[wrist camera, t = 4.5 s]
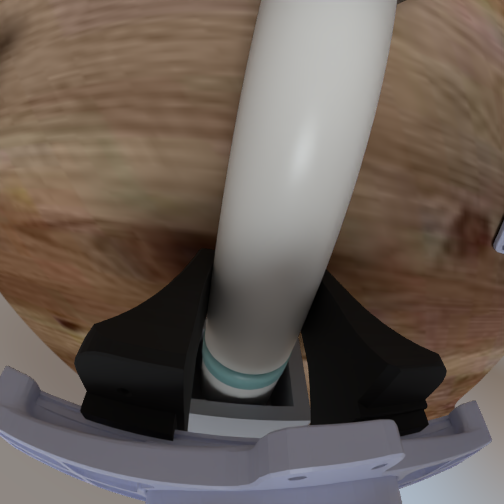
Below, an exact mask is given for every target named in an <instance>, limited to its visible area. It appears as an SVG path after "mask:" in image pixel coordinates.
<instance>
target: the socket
mask: <svg viewBox="0 0 504 504" xmlns="http://www.w3.org/2000/svg"><path fill="white" fill-rule="evenodd" d="M206 320H207V319H205V323H204V327H203V331H202V335H201V339H200V343H199V347H198V351H197V356H196V363H195V371H194V378H193V387H192V395H191V404H190V413H189V422H188V432H194V433H202V434H210V435H220V436H231V437H246V438H262V437H264V436H265V435H267V434H268V433H270V432H272V431H276V430H279V429H283V428H286V427H296V426H305V425H308V424H309V423H310V422H311V411H310V405H309V399H308V392H307V386H306V380H305V374H304V368H303V362H302V356H301V350H300V345H299V339H298V338H297V340H296V342H295V345H294V347H293V349H292V353H291V356H290V358H289V361H288V363H287V365H286V367H285V369H284V371H283V373H282V375H281V376H280V377H279V379H278V381H277V383H276V385H275V388H274V390H273V392H272V394H271V396H270V398H269V400H268V401H267V403H266V404H265V405H264V406H261V405H246V404H234V403H224V402H215V401H207V400H206V399H205V397H204V396H203V394H202V391H201V387H200V379H201V368H202V358H203V357H202V347H203V338H204V331H205V328H206Z"/></svg>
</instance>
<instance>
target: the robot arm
mask: <svg viewBox="0 0 504 504" xmlns="http://www.w3.org/2000/svg"><path fill="white" fill-rule="evenodd" d="M493 247H494V249H495V250H496V251H497V252H499V253H502V254H504V221H503V224H502V226H501V228H500V230H499V233H498V235H497V237H496V239H495V241H494V245H493ZM214 256H215V250H211V249H205V248H202V249H200V250H199V251H198V253H197V254H196V256H195V257H194V258H193V259H192V261H191V262H190V263H189V264H188V265H187V266H186V267H185V268H184V270H183V271H182V272H181V273H180V274H179V275H178V276H177V277H176V278H174V279H173V280H172V281H171V282H170V283H169V284H168V285H167V286H166V287H164V288H163V289H162V290H161V291H159V292H158V293H157V294H155V295H154V296H152V297H151V298H149V299H148V300H146V301H145V302H143V303H142V304H140V305H138V306H137V307H135V308H133V309H131V310H129V311H127V312H125V313H122V314H120V315H118V316H116V317H113V318H110V319H108V320H105V321H102V322H99V323H96V324H94V325H93V327H92V328H91V330H90V331H89V332H88V334H87V335H86V337H85V339H84V341H83V343H82V345H81V347H80V349H79V351H78V353H77V355H76V357H75V363H74V364H75V367H76V370H77V373H78V375H79V377H80V379H81V381H82V383H83V385H84V387H85V388H86V391H87V392H86V395H85V398H84V400H83V403H82V406H80V405H77V404H74V403H71V402H69V401H66V400H64V399H61V398H58V397H56V396H53V395H51V394H48V393H46V392H44V391H41V390H40V388H39V386H38V384H37V383H36V382H35V381H34V379H32V378H31V377H30V376H28V375H26V374H24V373H22V372H20V371H18V370H16V369H14V368H11V367H10V366H6V367H5V368H4V371H3V372H2V374H1V376H0V436H1V437H2V438H3V439H5V440H6V441H7V442H8V443H10V444H11V445H12V446H13V447H15V448H16V449H18V450H20V451H22V452H23V453H25V454H27V455H29V456H31V457H32V458H34V459H36V460H38V461H40V462H42V463H44V464H46V465H48V466H50V467H52V468H54V469H56V470H59V471H61V472H63V473H65V474H67V475H70V476H72V477H74V478H77V479H79V480H81V481H84V482H87V483H89V484H92V485H95V486H97V487H100V488H102V489H106V490H108V491H112V492H115V493H118V494H121V495H124V496H127V497H131V498H135V499H138V500H142V501H146V502H145V504H402V501H401V496H400V491H399V489H400V488H403V487H406V486H409V485H411V484H414V483H417V482H419V481H421V480H424V479H427V478H429V477H431V476H434V475H436V474H438V473H441V472H443V471H445V470H447V469H450V468H452V467H454V466H456V465H458V464H459V463H461V462H462V461H464V460H466V459H467V458H469V457H470V456H472V455H473V454H475V453H476V452H478V451H479V450H481V449H482V448H484V447H485V446H487V445H488V444H489V443H491V442H492V438H491V436H490V434H489V431H488V428H487V426H486V423H485V421H484V419H483V416H482V414H481V411H480V409H479V407H478V405H477V402H476V401H471V402H467V403H464V404H462V405H459V406H458V407H456V408H455V409H454V410H453V411H451V412H450V413H449V415H447V416H444V417H440V418H436V419H433V420H429V421H428V420H427V417H426V414H425V412H424V409H426V408H427V403H426V400H425V399H426V398H427V397H428V396H429V395H430V394H431V393H432V392H433V391H434V390H435V389H436V388H437V387H438V386H439V385H440V384H441V383H442V382H443V380H444V378H445V376H446V372H447V370H446V368H445V366H444V364H443V362H442V360H441V358H440V356H439V354H437V353H435V352H433V351H430V350H428V349H426V348H424V347H422V346H419V345H417V344H416V343H414V342H412V341H410V340H408V339H406V338H405V337H403V336H401V335H400V334H398V333H397V332H395V331H394V330H392V329H391V328H389V327H388V326H386V325H385V324H384V323H382V322H381V321H380V320H378V319H377V318H376V317H375V316H373V315H372V314H371V313H370V312H369V311H367V310H366V309H365V308H364V307H363V306H362V305H361V304H360V303H359V302H358V301H357V300H356V299H355V298H354V297H353V296H352V295H351V294H350V293H349V292H348V291H347V290H346V289H345V288H344V287H343V286H342V285H341V284H340V283H339V282H338V281H337V280H336V279H335V278H334V277H333V276H332V275H331V274H330V273H329V272H328V271H327V270H325V273H324V275H323V278H322V280H321V283H320V285H319V288H318V290H317V293H316V295H315V298H314V300H313V303H312V305H311V308H310V310H309V312H308V315H307V317H306V319H305V322H304V324H303V327H302V329H301V334H302V338H303V343H304V348H305V352H306V357H307V363H308V370H309V383H310V408H311V423H310V425H305V426H296V427H286V428H283V429H279V430H276V431H272V432H270V433H268V434H267V435H265V436H264V437H262V438H246V437H231V436H220V435H210V434H202V433H194V432H188V422H189V413H190V404H191V395H192V387H193V378H194V371H195V363H196V356H197V351H198V347H199V343H200V339H201V335H202V331H203V327H204V323H205V319H206V315H207V311H208V303H209V295H210V287H211V279H212V271H213V263H214Z"/></svg>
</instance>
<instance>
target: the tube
mask: <svg viewBox="0 0 504 504" xmlns="http://www.w3.org/2000/svg"><path fill="white" fill-rule="evenodd" d="M396 5H397V0H261V3H260V7H259V12H258V16H257V20H256V25H255V29H254V34H253V38H252V43H251V47H250V52H249V57H248V61H247V66H246V71H245V76H244V81H243V86H242V91H241V96H240V102H239V107H238V112H237V117H236V123H235V128H234V134H233V140H232V145H231V151H230V157H229V163H228V169H227V175H226V181H225V188H224V194H223V200H222V207H221V214H220V220H219V227H218V234H217V241H216V248H215V256H214V263H213V271H212V279H211V287H210V295H209V303H208V311H207V320H206V328H205V331H204V338H203V347H202V357H203V358H202V368H201V379H200V387H201V391H202V394H203V396H204V397H205V399H206V400H207V401H215V402H224V403H234V404H246V405H261V406H264V405H265V404H266V403H267V401H268V400H269V398H270V396H271V394H272V392H273V390H274V388H275V385H276V383H277V381H278V379H279V377H280V376H281V375H282V373H283V371H284V369H285V367H286V365H287V363H288V361H289V358H290V356H291V353H292V349H293V347H294V345H295V342H296V340H297V338H298V336H299V333H300V331H301V329H302V327H303V324H304V322H305V319H306V317H307V315H308V312H309V310H310V308H311V305H312V303H313V300H314V298H315V295H316V293H317V290H318V288H319V285H320V283H321V280H322V278H323V275H324V273H325V270H326V267H327V265H328V262H329V259H330V257H331V254H332V251H333V248H334V246H335V243H336V240H337V237H338V235H339V232H340V229H341V226H342V223H343V220H344V217H345V214H346V211H347V208H348V205H349V202H350V199H351V196H352V193H353V190H354V187H355V183H356V180H357V177H358V174H359V170H360V167H361V164H362V160H363V157H364V153H365V150H366V146H367V143H368V139H369V135H370V132H371V128H372V124H373V120H374V116H375V112H376V108H377V104H378V100H379V96H380V92H381V87H382V83H383V78H384V74H385V69H386V64H387V59H388V54H389V49H390V43H391V38H392V32H393V26H394V19H395V13H396Z"/></svg>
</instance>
